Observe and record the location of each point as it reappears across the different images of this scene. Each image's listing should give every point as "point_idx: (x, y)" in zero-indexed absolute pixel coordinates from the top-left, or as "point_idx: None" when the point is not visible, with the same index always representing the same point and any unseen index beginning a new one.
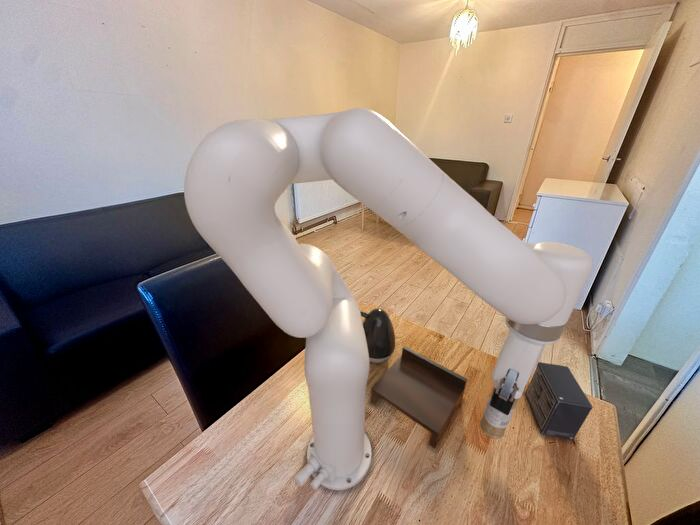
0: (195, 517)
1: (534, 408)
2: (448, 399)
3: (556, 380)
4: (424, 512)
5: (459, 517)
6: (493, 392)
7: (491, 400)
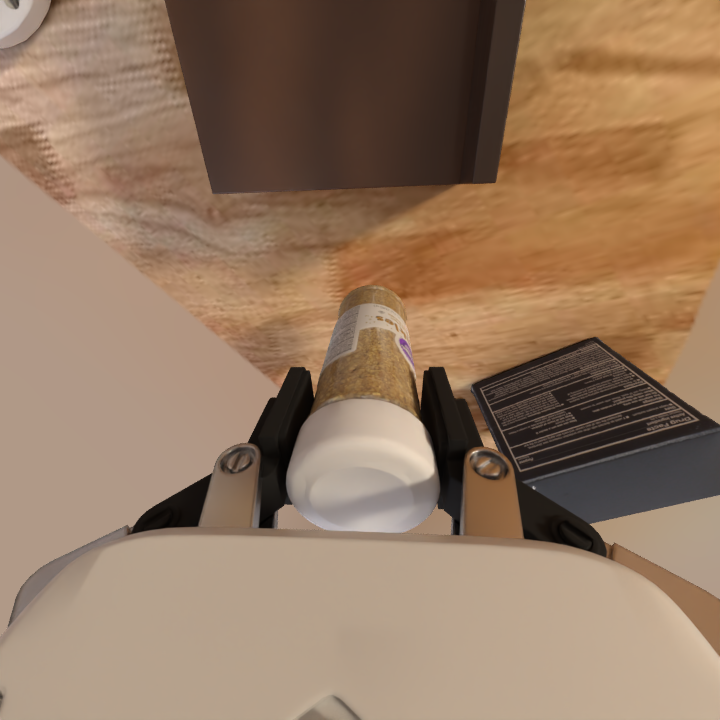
0: None
1: (535, 371)
2: (368, 150)
3: (619, 479)
4: (123, 245)
5: (183, 304)
6: (332, 383)
7: (284, 384)
